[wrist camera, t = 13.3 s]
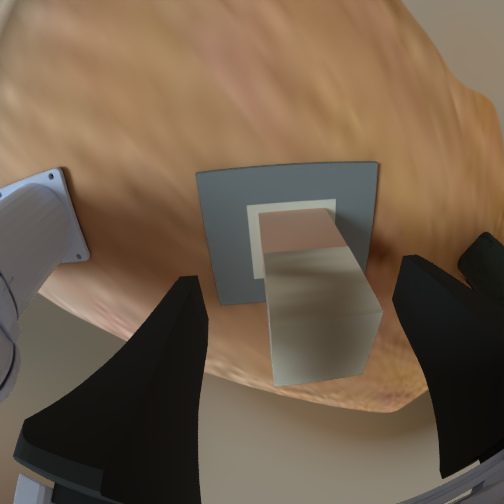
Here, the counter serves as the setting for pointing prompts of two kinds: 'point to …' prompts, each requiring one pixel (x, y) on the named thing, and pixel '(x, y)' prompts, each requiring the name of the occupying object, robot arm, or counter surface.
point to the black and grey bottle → (485, 268)
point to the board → (279, 199)
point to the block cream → (319, 315)
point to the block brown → (297, 231)
